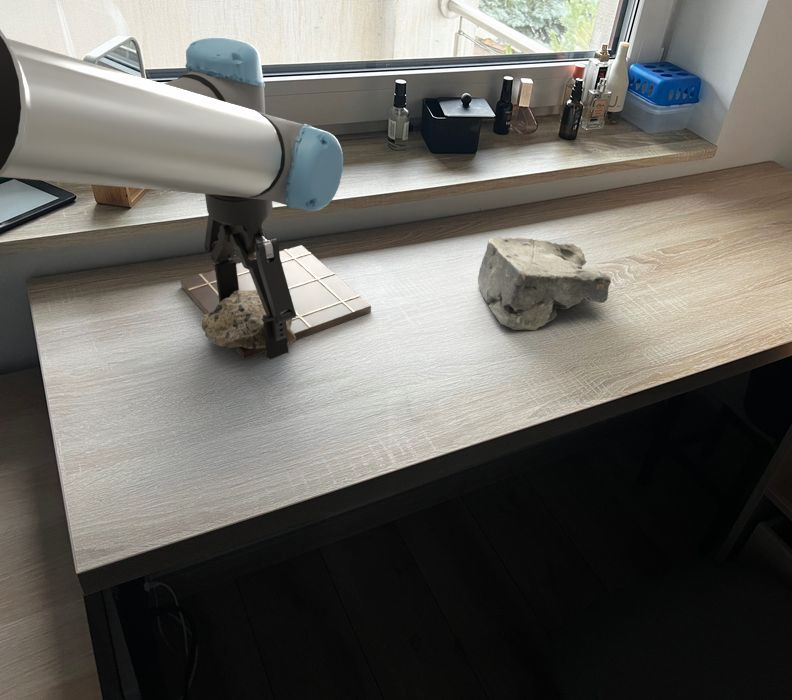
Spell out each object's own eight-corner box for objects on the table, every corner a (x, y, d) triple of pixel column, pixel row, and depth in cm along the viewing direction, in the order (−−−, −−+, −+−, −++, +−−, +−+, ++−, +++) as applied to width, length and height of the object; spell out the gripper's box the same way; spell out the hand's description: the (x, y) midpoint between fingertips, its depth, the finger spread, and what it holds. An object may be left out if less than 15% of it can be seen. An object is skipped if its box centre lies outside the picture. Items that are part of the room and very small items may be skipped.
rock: (205, 311, 100) (201, 284, 98) (291, 305, 103) (289, 279, 101) (204, 360, 92) (199, 333, 89) (298, 352, 95) (296, 325, 92)
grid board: (243, 359, 95) (243, 351, 94) (181, 287, 106) (179, 279, 106) (371, 312, 106) (371, 304, 105) (301, 251, 117) (301, 243, 116)
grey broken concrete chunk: (609, 332, 109) (623, 270, 104) (498, 333, 104) (508, 268, 100) (570, 290, 122) (581, 234, 118) (470, 289, 118) (478, 230, 113)
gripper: (321, 220, 79) (326, 368, 92) (220, 137, 93) (236, 276, 106) (258, 237, 75) (272, 389, 88) (162, 148, 89) (187, 291, 102)
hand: (253, 328), depth 97 cm, fingers open, 13 cm apart
